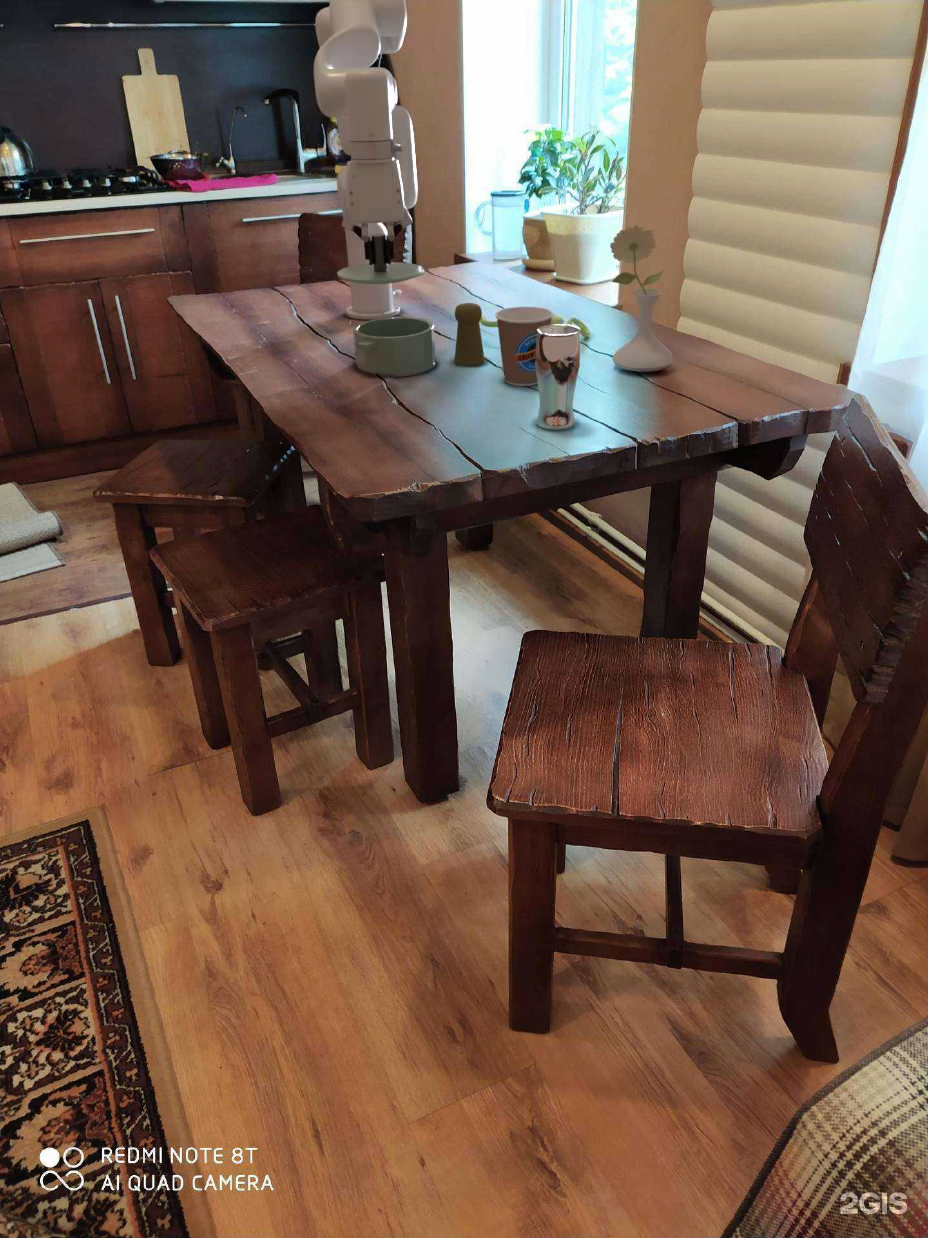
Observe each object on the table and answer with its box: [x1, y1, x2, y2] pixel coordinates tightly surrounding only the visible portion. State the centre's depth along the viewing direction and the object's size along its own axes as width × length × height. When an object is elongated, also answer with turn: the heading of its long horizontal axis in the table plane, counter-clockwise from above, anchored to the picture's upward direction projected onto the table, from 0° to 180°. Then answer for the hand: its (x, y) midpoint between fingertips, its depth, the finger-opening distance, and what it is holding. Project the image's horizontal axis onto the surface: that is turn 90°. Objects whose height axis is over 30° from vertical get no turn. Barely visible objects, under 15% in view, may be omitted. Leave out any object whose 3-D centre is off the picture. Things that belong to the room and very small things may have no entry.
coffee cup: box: [494, 306, 555, 387], centre depth 162 cm, size 10×10×12 cm
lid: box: [336, 234, 425, 284], centre depth 166 cm, size 16×16×7 cm
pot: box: [352, 316, 436, 378], centre depth 174 cm, size 15×21×7 cm
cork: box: [453, 302, 486, 367], centre depth 173 cm, size 6×6×11 cm
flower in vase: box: [609, 224, 675, 373], centre depth 163 cm, size 13×11×25 cm
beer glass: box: [535, 323, 581, 431], centre depth 142 cm, size 7×7×15 cm
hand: (380, 262), depth 167 cm, fingers closed on lid, 2 cm apart
